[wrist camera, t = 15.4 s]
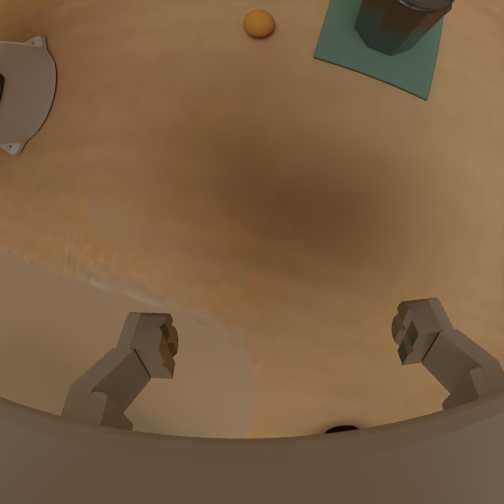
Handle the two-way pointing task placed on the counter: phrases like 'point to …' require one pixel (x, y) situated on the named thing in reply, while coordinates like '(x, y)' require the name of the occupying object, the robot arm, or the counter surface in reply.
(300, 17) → the counter surface
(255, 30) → the ball
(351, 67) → the mat
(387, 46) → the canister
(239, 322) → the counter surface
